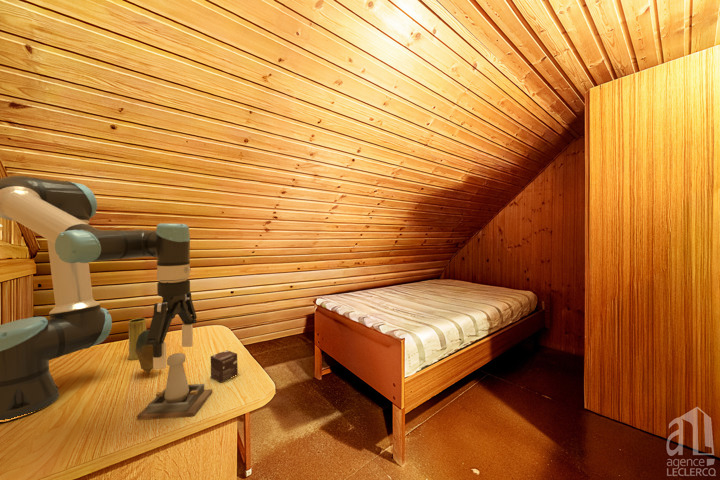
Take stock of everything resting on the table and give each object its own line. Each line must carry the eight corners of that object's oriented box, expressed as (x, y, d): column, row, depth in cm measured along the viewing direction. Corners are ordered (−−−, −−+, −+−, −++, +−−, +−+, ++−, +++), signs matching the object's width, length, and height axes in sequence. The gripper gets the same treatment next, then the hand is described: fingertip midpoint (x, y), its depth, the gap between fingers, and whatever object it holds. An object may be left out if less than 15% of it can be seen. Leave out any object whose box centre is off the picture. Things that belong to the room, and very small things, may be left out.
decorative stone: (130, 375, 97) (129, 331, 96) (150, 367, 102) (148, 325, 102) (147, 381, 93) (146, 335, 92) (167, 373, 98) (166, 329, 98)
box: (221, 383, 91) (220, 360, 91) (210, 378, 95) (209, 356, 94) (238, 375, 97) (237, 353, 96) (227, 370, 100) (226, 349, 99)
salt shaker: (194, 396, 82) (193, 351, 82) (177, 408, 77) (176, 360, 76) (176, 394, 83) (175, 349, 83) (159, 406, 78) (158, 358, 78)
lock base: (137, 419, 74) (136, 405, 74) (162, 395, 85) (162, 383, 85) (194, 416, 75) (193, 402, 75) (212, 392, 86) (211, 380, 86)
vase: (151, 355, 112) (150, 319, 112) (132, 361, 107) (131, 323, 107) (144, 351, 115) (143, 316, 115) (125, 357, 110) (124, 320, 110)
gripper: (160, 289, 67) (162, 379, 68) (208, 272, 92) (208, 338, 92) (126, 289, 66) (127, 380, 67) (183, 272, 91) (184, 339, 92)
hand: (174, 356), depth 80 cm, fingers open, 13 cm apart
